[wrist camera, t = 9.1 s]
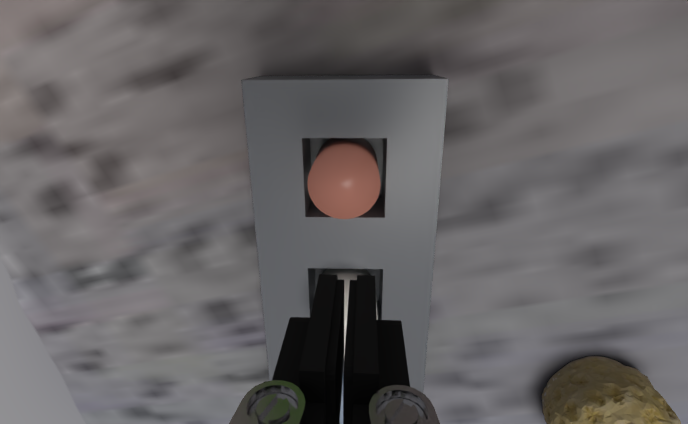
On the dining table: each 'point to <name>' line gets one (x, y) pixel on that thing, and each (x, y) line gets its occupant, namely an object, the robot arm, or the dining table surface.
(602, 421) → the rock
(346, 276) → the white rounded oval piece
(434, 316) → the dining table surface
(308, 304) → the grey rectangular block
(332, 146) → the brown egg
